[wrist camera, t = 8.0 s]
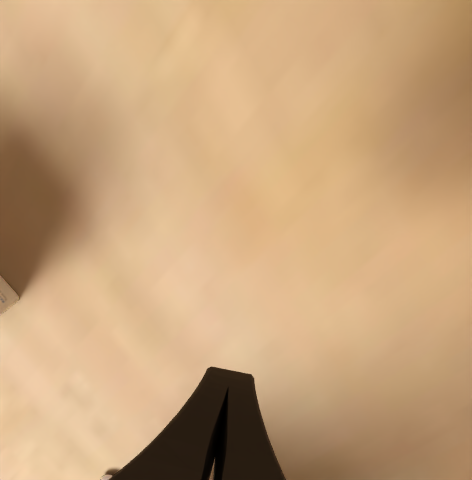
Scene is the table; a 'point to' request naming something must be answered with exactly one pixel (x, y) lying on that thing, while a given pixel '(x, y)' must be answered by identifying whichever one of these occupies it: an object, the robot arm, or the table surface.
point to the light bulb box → (6, 296)
